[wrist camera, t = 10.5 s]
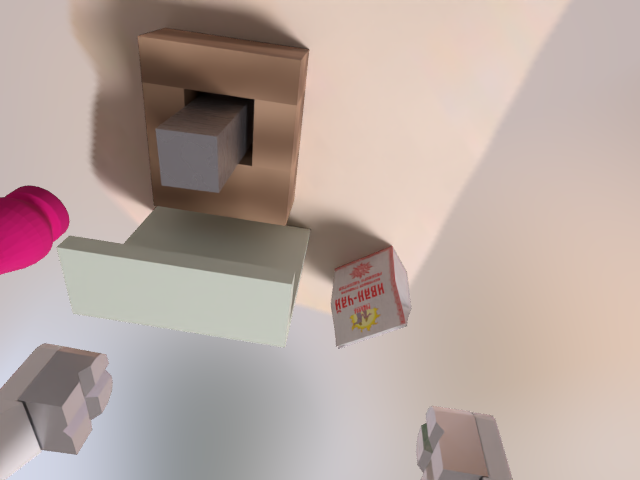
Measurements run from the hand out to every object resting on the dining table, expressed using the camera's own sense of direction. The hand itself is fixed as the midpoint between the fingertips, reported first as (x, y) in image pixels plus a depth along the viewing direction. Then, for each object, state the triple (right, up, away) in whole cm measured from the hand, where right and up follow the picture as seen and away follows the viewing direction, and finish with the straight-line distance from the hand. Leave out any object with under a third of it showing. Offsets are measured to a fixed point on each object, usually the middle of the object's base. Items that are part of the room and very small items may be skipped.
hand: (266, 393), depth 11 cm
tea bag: (+7, +1, +36) cm, 37 cm away
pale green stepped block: (-7, +8, +33) cm, 34 cm away
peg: (-6, +15, +28) cm, 32 cm away
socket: (-6, +15, +28) cm, 32 cm away
